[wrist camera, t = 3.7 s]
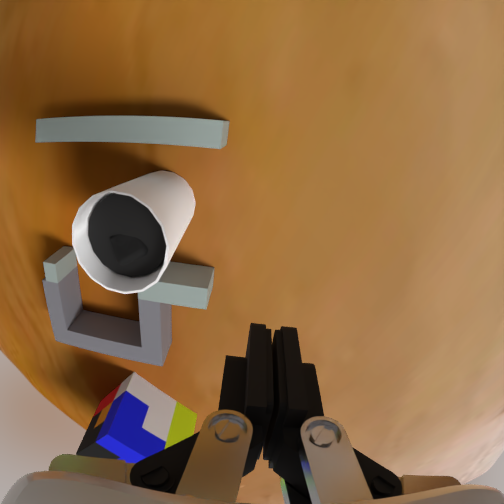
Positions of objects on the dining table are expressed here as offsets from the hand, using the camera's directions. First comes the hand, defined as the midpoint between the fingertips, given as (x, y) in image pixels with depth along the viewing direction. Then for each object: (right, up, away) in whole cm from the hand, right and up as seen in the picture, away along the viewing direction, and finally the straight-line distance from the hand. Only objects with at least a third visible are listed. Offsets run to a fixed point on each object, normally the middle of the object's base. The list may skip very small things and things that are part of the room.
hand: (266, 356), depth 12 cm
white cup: (-8, +8, +16) cm, 20 cm away
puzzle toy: (-15, -17, +27) cm, 35 cm away
